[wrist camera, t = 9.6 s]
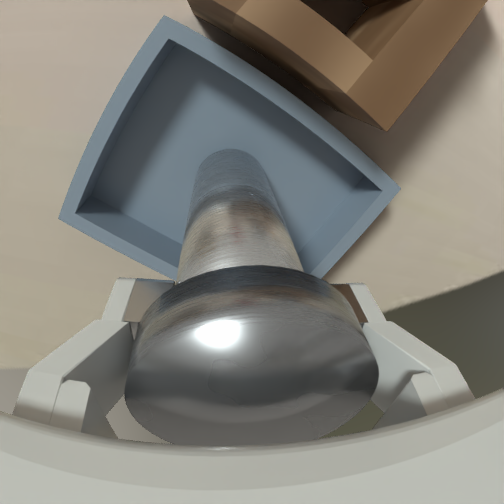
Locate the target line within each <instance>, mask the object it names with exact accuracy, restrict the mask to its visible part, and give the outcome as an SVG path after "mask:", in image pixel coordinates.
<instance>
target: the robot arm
mask: <svg viewBox="0 0 504 504" xmlns="http://www.w3.org/2000/svg"><path fill="white" fill-rule="evenodd" d="M330 285H332V286H333V287H335V288H336V289H337V290H338V291H339V292H340V293H341V294H342V295H343V296H344V297H345V298H346V299H347V301H348V302H349V304H350V305H351V307H352V309H353V311H354V313H355V315H356V317H357V319H358V321H359V323H360V325H361V328H362V330H363V332H364V334H365V336H366V338H367V340H368V343H369V345H370V347H371V349H372V351H373V354H374V356H375V358H376V361H377V364H378V367H379V379H378V384H377V387H376V390H375V392H374V394H373V395H372V397H371V399H370V400H371V401H372V402H373V403H374V404H375V405H376V406H377V407H378V408H379V409H380V410H381V411H382V412H384V414H383V416H382V417H381V418H380V420H379V421H378V422H377V423H376V424H375V426H374V427H373V429H372V430H368V431H363V432H358V433H352V434H347V435H341V436H335V437H328V438H322V439H313V440H305V441H296V442H286V443H273V444H257V445H226V446H210V445H179V444H163V443H151V442H141V441H132V440H124V439H118V437H117V436H116V434H115V433H114V431H113V429H112V427H111V425H110V424H109V422H108V420H107V418H106V417H105V416H106V415H107V414H108V412H109V411H110V410H111V409H112V408H113V407H114V405H115V404H116V403H117V402H118V400H119V399H120V398H121V397H122V396H123V395H124V394H125V392H124V389H125V384H126V378H127V373H128V368H129V363H130V358H131V354H132V349H133V344H134V340H135V335H136V332H137V328H138V324H139V322H140V320H141V318H142V316H143V315H144V313H145V312H146V310H147V309H148V308H149V307H150V305H151V304H152V303H153V302H154V301H155V300H156V299H157V298H158V297H160V296H161V295H162V294H163V293H165V292H166V291H168V290H169V289H171V288H172V287H173V286H175V281H171V280H155V279H140V278H137V279H136V278H121V277H119V278H118V279H117V280H116V281H115V284H114V286H113V289H112V292H111V294H110V297H109V299H108V302H107V305H106V308H105V310H104V313H103V316H102V319H101V320H94V321H93V322H92V323H90V324H89V325H88V326H86V327H85V328H84V329H82V330H81V331H80V332H78V333H77V334H76V335H74V336H73V337H72V338H70V339H69V340H68V341H66V342H65V343H64V344H62V345H61V346H60V347H58V348H57V349H56V350H54V351H53V352H52V353H50V354H49V355H48V356H46V357H45V358H44V359H43V360H41V361H40V362H39V363H37V364H36V365H35V366H33V367H32V368H31V369H30V370H29V371H28V373H27V376H26V378H25V381H24V383H23V386H22V389H21V391H20V394H19V397H18V399H17V402H16V405H15V408H14V411H13V414H12V415H11V414H8V413H4V412H2V411H0V504H504V388H502V389H500V390H497V391H495V392H492V393H490V394H487V395H485V396H483V397H480V398H478V399H475V398H474V396H473V394H472V392H471V391H470V389H469V387H468V385H467V383H466V382H465V380H464V378H463V376H462V374H461V373H460V371H459V369H458V368H457V366H456V364H454V363H453V362H451V361H450V360H448V359H447V358H446V357H444V356H443V355H441V354H440V353H438V352H437V351H435V350H434V349H432V348H431V347H429V346H428V345H426V344H424V343H423V342H422V341H420V340H419V339H417V338H416V337H414V336H413V335H411V334H410V333H408V332H407V331H405V330H404V329H402V328H401V327H399V326H398V325H396V324H395V323H393V322H392V321H388V322H387V321H386V319H385V317H384V316H383V314H382V312H381V310H380V309H379V307H378V305H377V303H376V302H375V300H374V298H373V296H372V295H371V293H370V291H369V290H368V288H367V286H366V285H365V284H363V283H346V284H330Z"/></svg>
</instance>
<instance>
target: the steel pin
mask: <svg viewBox="0 0 504 504" xmlns="http://www.w3.org/2000/svg"><path fill="white" fill-rule="evenodd" d="M378 379H379V367H378V364H377V361H376V358H375V356H374V354H373V351H372V349H371V347H370V345H369V343H368V340H367V338H366V336H365V334H364V332H363V330H362V328H361V325H360V323H359V321H358V319H357V317H356V315H355V313H354V311H353V309H352V307H351V305H350V304H349V302H348V301H347V299H346V298H345V297H344V296H343V295H342V294H341V293H340V292H339V291H338V290H337V289H336V288H335V287H333V286H332V285H330V284H329V283H327V282H326V281H324V280H322V279H320V278H318V277H316V276H314V275H311V274H308V273H305V272H304V270H303V268H302V265H301V262H300V260H299V257H298V255H297V252H296V250H295V247H294V244H293V242H292V239H291V237H290V234H289V232H288V229H287V227H286V224H285V222H284V219H283V217H282V214H281V212H280V209H279V207H278V204H277V202H276V200H275V197H274V195H273V192H272V190H271V187H270V185H269V183H268V180H267V178H266V175H265V173H264V171H263V168H262V167H261V165H260V163H259V162H258V161H257V160H256V159H255V158H254V157H253V156H252V155H250V154H249V153H247V152H244V151H241V150H237V149H224V150H220V151H217V152H215V153H213V154H211V155H210V156H208V157H207V158H206V159H205V160H204V161H203V162H202V163H201V165H200V166H199V168H198V171H197V173H196V177H195V182H194V187H193V192H192V197H191V201H190V206H189V212H188V217H187V222H186V227H185V233H184V238H183V244H182V249H181V255H180V261H179V267H178V273H177V280H176V285H175V286H173V287H172V288H171V289H169V290H168V291H166V292H165V293H163V294H162V295H161V296H160V297H158V298H157V299H156V300H155V301H154V302H153V303H152V304H151V305H150V307H149V308H148V309H147V310H146V312H145V313H144V315H143V316H142V318H141V320H140V322H139V324H138V328H137V332H136V335H135V340H134V344H133V349H132V354H131V358H130V363H129V368H128V373H127V378H126V384H125V389H124V392H125V401H126V405H127V407H128V409H129V411H130V413H131V414H132V416H133V417H134V418H135V419H136V421H137V422H138V423H139V424H141V425H142V426H143V427H144V428H145V429H147V430H148V431H149V432H151V433H152V434H154V435H156V436H158V437H159V438H161V439H163V440H165V441H168V442H170V443H172V444H179V445H210V446H226V445H257V444H273V443H286V442H296V441H305V440H313V439H318V438H320V437H322V436H324V435H326V434H328V433H330V432H332V431H334V430H335V429H337V428H339V427H340V426H342V425H343V424H345V423H346V422H348V421H349V420H350V419H352V418H353V417H354V416H355V415H357V414H358V413H359V412H360V411H361V410H362V409H363V408H364V406H365V405H366V404H367V403H368V401H369V400H370V399H371V397H372V395H373V394H374V392H375V390H376V387H377V384H378Z"/></svg>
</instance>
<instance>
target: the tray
mask: <svg viewBox="0 0 504 504" xmlns="http://www.w3.org/2000/svg"><path fill="white" fill-rule="evenodd" d="M224 149H237V150H241V151H244V152H247V153H249V154H250V155H252V156H253V157H254V158H255V159H256V160H257V161H258V162H259V163H260V165H261V167H262V168H263V171H264V173H265V175H266V178H267V180H268V183H269V185H270V187H271V190H272V192H273V195H274V197H275V200H276V202H277V204H278V207H279V209H280V212H281V214H282V217H283V219H284V222H285V224H286V227H287V229H288V232H289V234H290V237H291V239H292V242H293V244H294V247H295V250H296V252H297V255H298V257H299V260H300V262H301V265H302V268H303V270H304V272H305V273H308V274H311V275H314V276H316V277H318V278H320V279H321V278H322V277H323V276H324V275H325V274H326V273H327V272H328V271H329V270H330V269H331V268H332V267H333V265H334V264H335V263H336V262H337V261H338V260H339V259H340V258H341V257H342V256H343V255H344V254H345V252H346V251H347V250H348V249H349V248H350V247H351V246H352V245H353V244H354V242H355V241H356V240H357V239H358V238H359V237H360V236H361V235H362V234H363V232H364V231H365V230H366V229H367V228H368V227H369V226H370V224H371V223H372V222H373V221H374V220H375V219H376V218H377V216H378V215H379V214H380V213H381V212H382V211H383V209H384V208H385V207H386V206H387V205H388V204H389V202H390V201H391V200H392V199H393V198H394V196H395V195H396V194H397V193H398V192H399V190H400V189H401V188H400V187H399V186H398V185H397V184H396V183H395V182H394V181H393V180H392V179H391V178H390V177H389V176H388V175H387V174H386V173H385V172H384V171H383V170H382V169H381V168H380V167H379V166H378V165H377V164H375V163H374V162H373V161H372V160H371V159H370V158H369V157H368V156H367V155H366V154H365V153H363V152H362V151H361V150H360V149H359V148H358V147H357V146H356V145H355V144H353V143H352V142H351V141H350V140H349V139H348V138H346V137H345V136H344V135H343V134H342V133H341V132H339V131H338V130H337V129H336V128H335V127H333V126H332V125H331V124H330V123H329V122H327V121H326V120H325V119H324V118H322V117H321V116H320V115H319V114H317V113H316V112H315V111H314V110H312V109H311V108H310V107H309V106H307V105H306V104H305V103H303V102H302V101H301V100H299V99H298V98H297V97H295V96H294V95H293V94H291V93H290V92H289V91H287V90H286V89H285V88H283V87H282V86H280V85H279V84H278V83H276V82H275V81H273V80H272V79H271V78H269V77H268V76H266V75H265V74H263V73H262V72H260V71H259V70H257V69H256V68H254V67H253V66H251V65H250V64H248V63H247V62H245V61H244V60H242V59H241V58H239V57H237V56H236V55H234V54H233V53H231V52H229V51H228V50H226V49H224V48H223V47H221V46H220V45H218V44H216V43H214V42H213V41H211V40H209V39H208V38H206V37H204V36H202V35H201V34H199V33H197V32H195V31H193V30H192V29H190V28H188V27H186V26H184V25H182V24H180V23H178V22H177V21H175V20H173V19H171V18H169V17H167V16H165V15H164V16H163V17H162V19H161V20H160V21H159V23H158V24H157V26H156V27H155V28H154V30H153V31H152V33H151V34H150V35H149V37H148V38H147V40H146V41H145V43H144V44H143V46H142V47H141V49H140V50H139V52H138V53H137V55H136V56H135V58H134V60H133V61H132V63H131V64H130V66H129V68H128V69H127V71H126V73H125V74H124V76H123V78H122V79H121V81H120V83H119V84H118V86H117V88H116V90H115V92H114V93H113V95H112V97H111V99H110V101H109V102H108V104H107V106H106V108H105V110H104V112H103V114H102V116H101V118H100V120H99V122H98V124H97V126H96V128H95V130H94V132H93V134H92V136H91V138H90V140H89V142H88V145H87V147H86V149H85V151H84V153H83V156H82V158H81V160H80V163H79V165H78V167H77V170H76V172H75V175H74V177H73V180H72V182H71V185H70V187H69V190H68V192H67V195H66V198H65V201H64V203H63V206H62V209H61V212H60V215H59V218H58V219H60V220H61V221H63V222H65V223H67V224H68V225H70V226H72V227H74V228H76V229H77V230H79V231H81V232H83V233H85V234H86V235H88V236H90V237H92V238H94V239H96V240H97V241H99V242H101V243H103V244H105V245H107V246H109V247H111V248H112V249H114V250H116V251H118V252H120V253H122V254H124V255H126V256H128V257H130V258H132V259H133V260H135V261H137V262H139V263H141V264H143V265H145V266H147V267H149V268H151V269H153V270H155V271H157V272H159V273H161V274H163V275H165V276H167V277H169V278H171V279H173V280H175V281H176V280H177V273H178V267H179V261H180V255H181V249H182V244H183V238H184V233H185V227H186V222H187V217H188V212H189V206H190V201H191V197H192V192H193V187H194V182H195V177H196V173H197V171H198V168H199V166H200V165H201V163H202V162H203V161H204V160H205V159H206V158H207V157H208V156H210V155H211V154H213V153H215V152H217V151H220V150H224Z"/></svg>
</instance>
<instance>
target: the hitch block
mask: <svg viewBox="0 0 504 504" xmlns="http://www.w3.org/2000/svg"><path fill="white" fill-rule="evenodd" d="M187 1H188V3H189V5H190V7H191V10H192V12H193V14H194V15H196V16H198V17H200V18H201V19H203V20H205V21H207V22H209V23H210V24H212V25H214V26H216V27H217V28H219V29H221V30H223V31H224V32H226V33H228V34H229V35H231V36H233V37H234V38H236V39H237V40H239V41H241V42H242V43H244V44H245V45H247V46H248V47H250V48H252V49H253V50H255V51H256V52H258V53H259V54H261V55H262V56H264V57H265V58H267V59H268V60H269V61H271V62H272V63H274V64H275V65H277V66H278V67H279V68H281V69H282V70H284V71H285V72H286V73H288V74H289V75H291V76H292V77H293V78H295V79H296V80H297V81H299V82H300V83H301V84H303V85H304V86H305V87H306V88H308V89H309V90H310V91H312V92H313V93H314V94H315V95H317V96H318V97H319V98H320V99H322V100H323V101H324V102H325V103H327V104H328V105H329V106H330V107H331V108H333V109H334V110H336V111H339V112H341V113H344V114H346V115H349V116H351V117H354V118H356V119H358V120H361V121H363V122H365V123H368V124H370V125H372V126H375V127H377V128H379V129H381V130H383V131H386V132H387V131H388V130H389V129H390V127H391V126H392V125H393V124H394V122H395V121H396V120H397V119H398V117H399V116H400V115H401V114H402V112H403V111H404V110H405V109H406V107H407V106H408V105H409V103H410V102H411V101H412V100H413V98H414V97H415V96H416V95H417V93H418V92H419V91H420V89H421V88H422V87H423V86H424V84H425V83H426V82H427V80H428V79H429V78H430V77H431V75H432V74H433V73H434V71H435V70H436V69H437V68H438V66H439V65H440V64H441V62H442V61H443V60H444V58H445V57H446V56H447V54H448V53H449V52H450V50H451V49H452V48H453V47H454V45H455V44H456V43H457V41H458V40H459V39H460V37H461V36H462V35H463V33H464V32H465V31H466V29H467V28H468V26H469V25H470V24H471V22H472V21H473V20H474V18H475V17H476V16H477V14H478V13H479V12H480V10H481V9H482V7H483V6H484V5H485V3H486V2H487V0H361V1H362V2H363V3H364V4H366V5H367V6H368V7H369V8H368V9H367V10H366V11H365V12H364V13H363V14H362V16H361V17H360V18H359V19H358V20H357V21H356V22H355V23H354V25H353V26H352V27H351V28H350V29H349V30H348V31H347V33H346V34H345V35H344V34H343V33H342V32H340V31H339V30H338V29H337V28H336V27H334V26H333V25H332V24H331V23H329V22H328V21H327V20H326V19H324V18H323V17H322V16H320V15H319V14H318V13H316V12H315V11H314V10H312V9H311V8H310V7H308V6H307V5H306V4H304V3H303V2H301V1H300V0H187Z"/></svg>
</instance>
